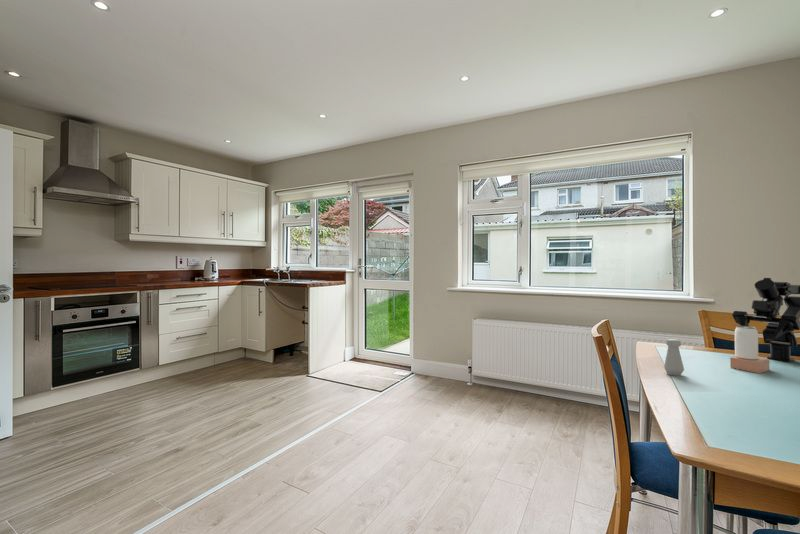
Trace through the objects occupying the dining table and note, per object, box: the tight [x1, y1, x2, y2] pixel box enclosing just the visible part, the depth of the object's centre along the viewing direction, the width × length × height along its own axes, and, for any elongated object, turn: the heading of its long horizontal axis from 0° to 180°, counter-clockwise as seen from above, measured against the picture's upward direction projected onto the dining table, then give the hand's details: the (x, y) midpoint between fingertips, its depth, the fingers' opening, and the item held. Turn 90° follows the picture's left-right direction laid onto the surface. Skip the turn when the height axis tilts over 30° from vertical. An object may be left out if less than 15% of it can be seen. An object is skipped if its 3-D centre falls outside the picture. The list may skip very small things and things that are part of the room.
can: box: [734, 325, 759, 360], centre depth 137 cm, size 6×6×12 cm
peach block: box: [729, 355, 771, 374], centre depth 136 cm, size 8×8×4 cm
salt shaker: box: [663, 338, 685, 377], centre depth 131 cm, size 6×6×13 cm
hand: (758, 336), depth 139 cm, fingers open, 9 cm apart
